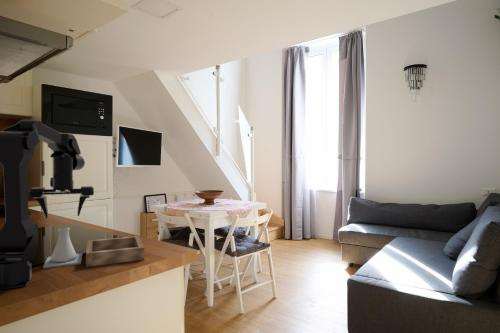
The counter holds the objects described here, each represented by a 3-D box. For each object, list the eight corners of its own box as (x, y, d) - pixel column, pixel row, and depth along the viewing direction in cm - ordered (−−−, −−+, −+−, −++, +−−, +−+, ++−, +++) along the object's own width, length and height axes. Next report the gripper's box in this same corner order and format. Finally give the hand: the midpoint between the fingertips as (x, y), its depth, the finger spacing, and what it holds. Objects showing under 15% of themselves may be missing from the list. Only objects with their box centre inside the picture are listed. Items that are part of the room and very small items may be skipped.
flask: (66, 263, 96) (66, 231, 96) (44, 262, 97) (44, 230, 97) (81, 256, 103) (81, 226, 103) (61, 255, 104) (61, 225, 104)
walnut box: (86, 266, 95) (86, 253, 95) (87, 251, 111) (87, 240, 111) (144, 259, 103) (144, 247, 103) (138, 246, 118) (138, 235, 118)
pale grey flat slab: (43, 268, 93) (43, 266, 93) (47, 258, 102) (47, 256, 102) (81, 263, 98) (81, 262, 98) (82, 255, 107) (82, 253, 107)
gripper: (93, 170, 118) (93, 211, 118) (34, 170, 110) (34, 214, 110) (93, 171, 108) (93, 216, 108) (28, 171, 99) (28, 220, 100)
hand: (63, 216), depth 107 cm, fingers open, 9 cm apart
